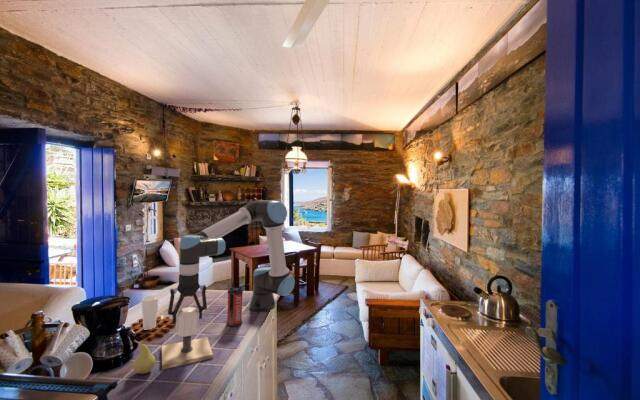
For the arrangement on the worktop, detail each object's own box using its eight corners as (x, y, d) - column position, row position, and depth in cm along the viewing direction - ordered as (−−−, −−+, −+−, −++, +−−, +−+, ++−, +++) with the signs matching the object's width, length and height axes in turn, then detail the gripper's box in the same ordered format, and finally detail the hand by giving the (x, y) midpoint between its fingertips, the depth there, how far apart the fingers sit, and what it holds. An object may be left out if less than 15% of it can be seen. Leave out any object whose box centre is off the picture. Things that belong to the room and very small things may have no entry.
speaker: (237, 319, 154) (238, 285, 154) (245, 324, 149) (246, 289, 149) (223, 323, 149) (225, 288, 149) (231, 328, 143) (232, 292, 143)
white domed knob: (195, 327, 124) (196, 304, 124) (197, 334, 118) (198, 310, 118) (176, 330, 121) (177, 307, 121) (177, 338, 115) (178, 313, 115)
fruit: (149, 378, 103) (150, 344, 103) (127, 378, 103) (128, 344, 103) (158, 367, 110) (159, 335, 110) (137, 367, 109) (138, 335, 109)
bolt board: (206, 340, 131) (207, 323, 131) (212, 358, 117) (213, 339, 117) (161, 349, 122) (162, 331, 122) (162, 369, 108) (162, 349, 108)
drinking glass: (159, 329, 140) (160, 298, 140) (143, 333, 135) (144, 301, 135) (154, 324, 145) (155, 294, 145) (139, 328, 140) (140, 297, 140)
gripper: (213, 269, 128) (211, 320, 128) (161, 273, 118) (159, 329, 118) (216, 273, 121) (214, 327, 121) (161, 278, 111) (159, 337, 111)
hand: (187, 328), depth 120 cm, fingers closed on white domed knob, 7 cm apart
